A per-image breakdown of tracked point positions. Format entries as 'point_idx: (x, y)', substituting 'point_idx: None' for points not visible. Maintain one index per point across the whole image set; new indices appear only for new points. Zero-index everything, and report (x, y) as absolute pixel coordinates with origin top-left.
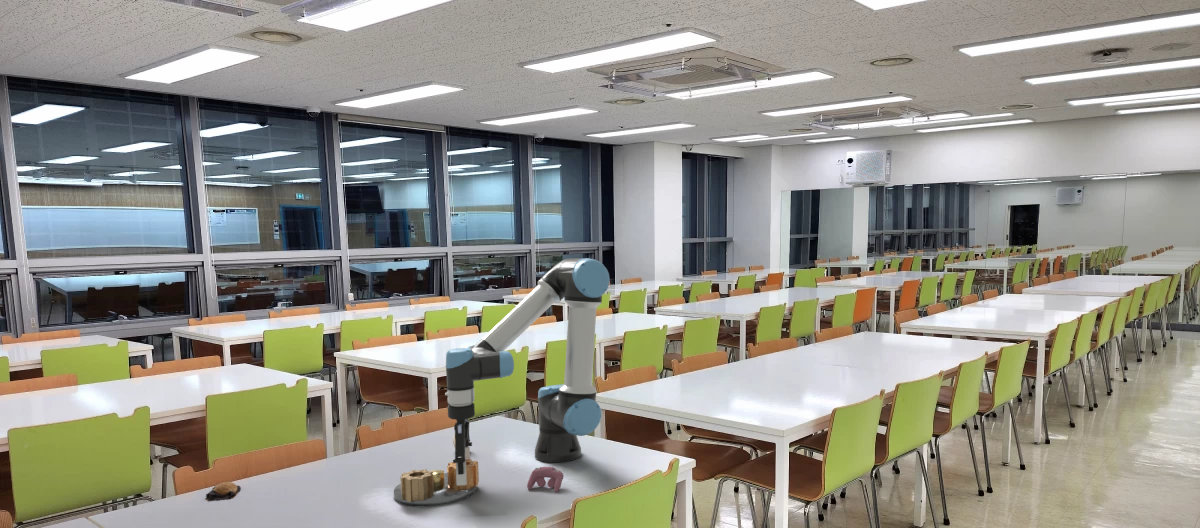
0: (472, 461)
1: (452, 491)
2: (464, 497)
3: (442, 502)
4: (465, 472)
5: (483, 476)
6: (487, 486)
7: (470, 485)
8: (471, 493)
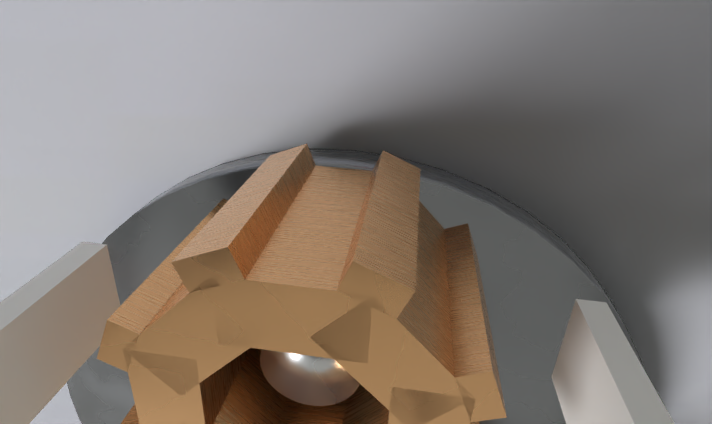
0: (203, 316)
1: None
2: (576, 257)
3: None
4: (667, 421)
5: (34, 83)
6: (301, 49)
7: (437, 229)
8: (502, 202)
